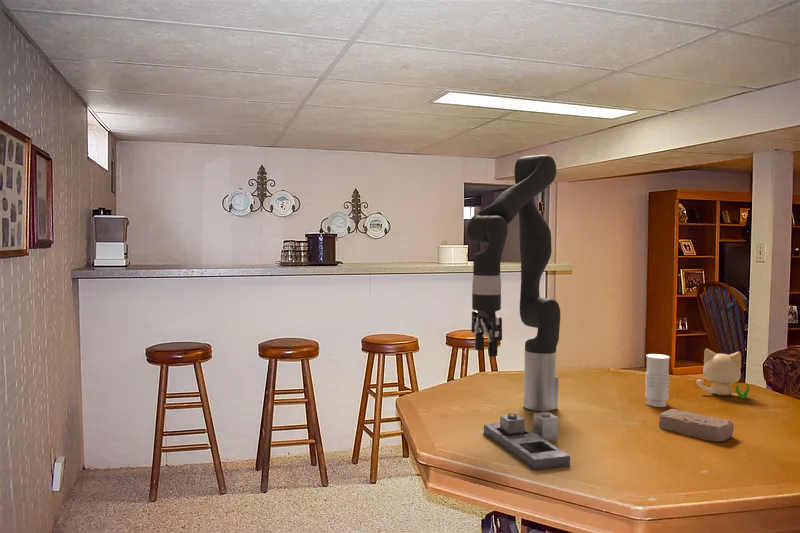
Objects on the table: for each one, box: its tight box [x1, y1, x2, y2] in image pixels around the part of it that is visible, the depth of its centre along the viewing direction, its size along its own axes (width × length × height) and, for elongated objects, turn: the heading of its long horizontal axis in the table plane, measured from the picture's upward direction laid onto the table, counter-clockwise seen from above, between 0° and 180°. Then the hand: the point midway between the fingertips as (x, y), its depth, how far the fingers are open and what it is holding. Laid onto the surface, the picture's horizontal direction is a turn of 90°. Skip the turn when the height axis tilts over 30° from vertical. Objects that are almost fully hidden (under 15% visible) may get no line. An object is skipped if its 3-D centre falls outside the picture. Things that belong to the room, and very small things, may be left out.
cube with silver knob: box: [532, 411, 559, 443], centre depth 156 cm, size 4×4×7 cm
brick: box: [658, 408, 735, 443], centre depth 162 cm, size 17×8×5 cm, turn 41°
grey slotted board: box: [483, 422, 571, 471], centre depth 149 cm, size 9×26×2 cm, turn 18°
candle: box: [644, 353, 671, 408], centre depth 188 cm, size 7×7×15 cm
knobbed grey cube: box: [499, 412, 526, 436], centre depth 155 cm, size 4×4×7 cm
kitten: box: [696, 348, 750, 399], centre depth 200 cm, size 15×10×15 cm
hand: (486, 353), depth 161 cm, fingers open, 8 cm apart
